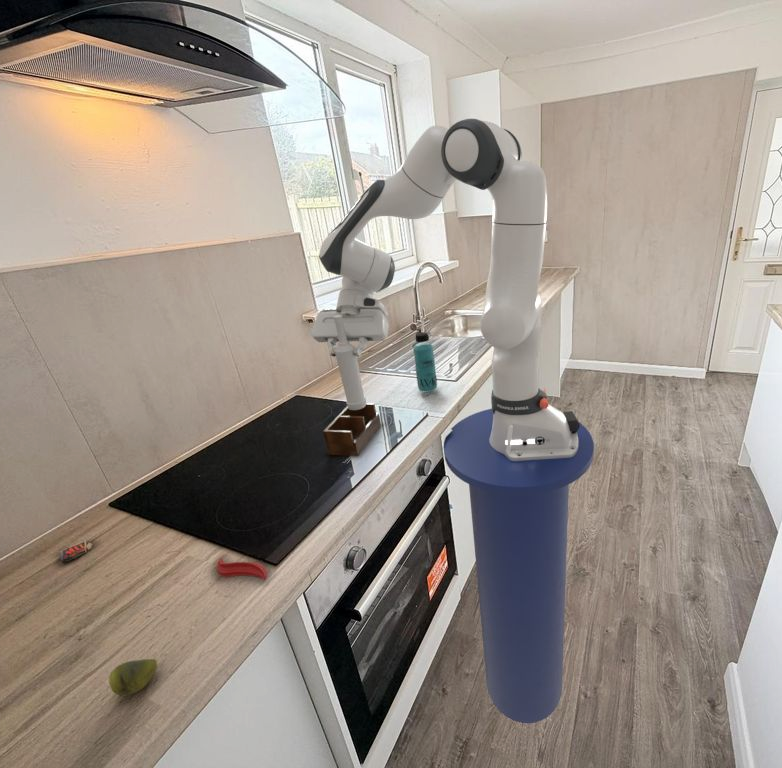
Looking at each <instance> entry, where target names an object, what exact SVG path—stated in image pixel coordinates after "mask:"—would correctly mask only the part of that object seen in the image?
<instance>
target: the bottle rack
mask: <svg viewBox="0 0 782 768" xmlns="http://www.w3.org/2000/svg"><path fill="white" fill-rule="evenodd" d="M376 409H377V408H376V405H375V403H374V402H372V403H371V402H366V406H365V407H364V408H362V409H359V410H350V409H348V407H347V406H345V407H344V408H343V409H342V411H341V412H340V413H339V414H338V415H337V416H336V417H335V418H334V419H333V420H332V421H331V422H330V423H328V425H327V426H326V427H325V428H324V430H323V431H322V433H323V437H324V441H325V444H326V449H327V453H328V456H345V457H346V456H347V457H348V456H349V457H359V456H360V454H361V453H362V452H363V451H364V450H365V447H366V446H367V445H368V444H369V442H370V441H371V440H372V438H373V437H374V435H375V434H376V432H377V431H378V430H379V429H380V428H381V426H382V423H381V417H380V412H377V410H376Z"/></svg>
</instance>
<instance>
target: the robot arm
mask: <svg viewBox="0 0 782 768" xmlns="http://www.w3.org/2000/svg"><path fill="white" fill-rule="evenodd" d="M522 154H523V153H522V148H521V145H520V142H519V140H518V139H517V137H516V136H515V135H514V134H513V133H512V132H511V131H510V130H508V129H506V128H503V127H500V126H499V125H498V124H497V123H494V122H491V121H487V120H481V119H477V118H465V119H462V120H459V121H457V122H456V123H454V124H452V125H451V126H450V127H449V128H448V127H446V126H443V125H431V126H429V127H428V128H427V129H425V131H424V132H423V133H422V135H420V136H419V138H418V140H416V142H415V143H414V144H413V146H412V148H411V149H410V150H409V152H408V153H407V155H406V157H405V158H404V160H403V161H402V163H401V165H400V167H399V168H398V170H396V172H394V174H392V175H391V176H389V177H387V178H385V179H376V180H375V181H373V182H372V183H370V185H369V186H368V187H367V188H366V189H365V191H364V192H363V193H362V194H361V195H360V197H359V198H358V199H357V200H356V202H355V203H354V204H353V205H352V207H351V208H350V209H349V210H348V212H347V213H346V214H345V216H344V217H343V218H342V219H341V221H340V222H339V223H338V225H337V226H336V227H335V228H334V229H333V230H332V231H330V232H329V234H328V235H327V236H326V237H325V238H324V240H323V242H322V244H321V245H320V249H319V253H318V258H319V261H320V263H321V265H322V266H323V268H324V269H325V271H326V272H327V273H331V274H333V275H337V276H341V277H342V278H341V289H340V291H339V293H338V297H337V303H336V307H335V308H323V309H322V310H321V311H319V312H317V314H316V318H315V320H314V323H313V325H312V329H311V332H310V334H311V336H312V338H313V339H314V340H315V341H316V342H318V343H327V344H328V347H329V348H330V349H329V352H328V353H329V355H330V356H331V357H335V358H336V355H335V351H334V350H335V349H336V346H337V344H338V343H339V339H338V334H337V329H336V325H335V321H334V316H336V315H342V318H343V324H344V329H345V333H346V338H347V341H349V343H352V342H354V343H355V342H359V343H358V345H357V346H356V347H355V348H354V349H353V350H354V351H353V355H354V356H357V357H361V356H362V351H363V350H364V349H365V348H366V347H367V345H368V342H384V341H386V339H387V338H388V337H389V329H390V328H389V320H388V316H389V312H388V310H387V309H386V307H385V305H384V304H383V302H381V301H380V300H379V299H377V298H373V295H374V293H379V292H381V291H384V290H385V289H387V288H389V287H390V286H391V284H392V282H393V281H394V277H395V272H396V265H395V261H394V259H393V257H392V255H390V254H388V253H387V252H385V251H383V250H381V249H379V248H377V247H375V246H372V245H369V244H367V243H365V242H363V241H361V240H359V239H357V237H358V236H359V234H360V233H361V232H362V231H363V229H364V228H365V227H366V226H367V225H368V224H369V222H370V221H371V220H373V219H374V218H379V217H395V218H400V219H401V218H402V219H407V220H421V219H423V218H427V217H429V216H430V215H432V214H433V213H434V212H435V211H436V210H437V208H438V207H439V206H440V205H441V203H442V201H443V200H444V198H445V197H446V195H447V193H448V192H449V190H450V189H451V187H452V186H453V184H454V183H455V182H456V181H459V182H461V183H463V184H465V185H467V186H471V187H474V188H476V189H479V190H481V191H482V190H483V191H485V190H487V191H488V192H489V193H490V195H491V198H492V199H491V200H492V219H491V221H492V223H491V245H490V246H491V247H490V264H489V270H488V275H487V280H486V281H487V282H486V288H485V295H484V303H483V310H482V315H481V319H480V332H481V335H482V337H483V339H484V340H485V342H486V343H487V344H488V345H490V346H491V347H493V351H492V356H491V357H492V358H491V378H492V379H491V380H492V391H491V395H490V401H491V402H490V405H491V409H492V412H493V425H492V431H491V435H490V439H489V442H490V445H491V446H492V448H494V449H495V450H496V451H498V452H500V453H502V454H504V455H505V456H506V457H507V458H508V459H509V460H511V461H526V460H541V459H557V458H570V457H573V456H574V455H575V454H576V453H577V451H578V446H579V443H578V436H577V433H576V432H577V431H578V429H579V427H580V424H579V423H580V422H579V420H578V418H577V416H576V415H575V413H574V411H573V410H570V411H569V410H567V411H560V410H559V408H558V409H557V408H556V407H554V406H553V405H551V404H549V399H548V395H547V393H546V391H547V390H546V389H545V388H543V390H542V389H541V388H539V356H540V345H541V334H542V333H541V331H542V311H543V310H542V309H543V304H542V298H541V296H540V293H539V291H538V290H539V286H540V285H539V284H540V278H541V273H542V267H543V265H544V264H543V263H544V253H545V242H546V230H547V219H548V188H547V177H546V173H545V171H544V170H543V168H542V167H541V166H540V165H538V164H537V163H534V162H532V161H528V160H522V156H523V155H522Z"/></svg>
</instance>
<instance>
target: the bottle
mask: <svg viewBox="0 0 782 768" xmlns="http://www.w3.org/2000/svg"><path fill="white" fill-rule="evenodd" d="M334 321H335V325H336V329H337V334H338V339H339V342H337V344H338V345H336V346H335V348H336V349H335V350H334V351H335V355H336V356H335V358H336V359H335V360H336V363H337V366H338V369H339V370H338V371H339V374H340V378H341V383H342V386H343V391H344V394H345V399H346V401H345V403H346V407H348V409H350V410H359V409H362V408H364V407H365V406H366V403H367V399H366V397H365V394H364V388H363V383H362V378H361V372H360V366H359V360H358V356H354V355H353V351H354V350H353V349H354V348H356V347H355V345H353V344H352V343H351V342H349V341H347V338H346V333H345V329H344V324H343V318H342V315H336V316H334Z"/></svg>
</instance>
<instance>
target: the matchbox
mask: <svg viewBox="0 0 782 768" xmlns="http://www.w3.org/2000/svg"><path fill="white" fill-rule="evenodd" d="M92 548H93V544H92V542H88V543H87V541H86V540H83V541H81V542H78V543H76V544H73V545H70V546H69V547H66V548H65V549H62V550H60V557H61V558H60V561H62V562H63V563H66V562H69V561H72V560H75V559H76V558H78V557H80V556H82V555H84V554H86V553H87V551H89V550H90V549H92Z"/></svg>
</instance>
